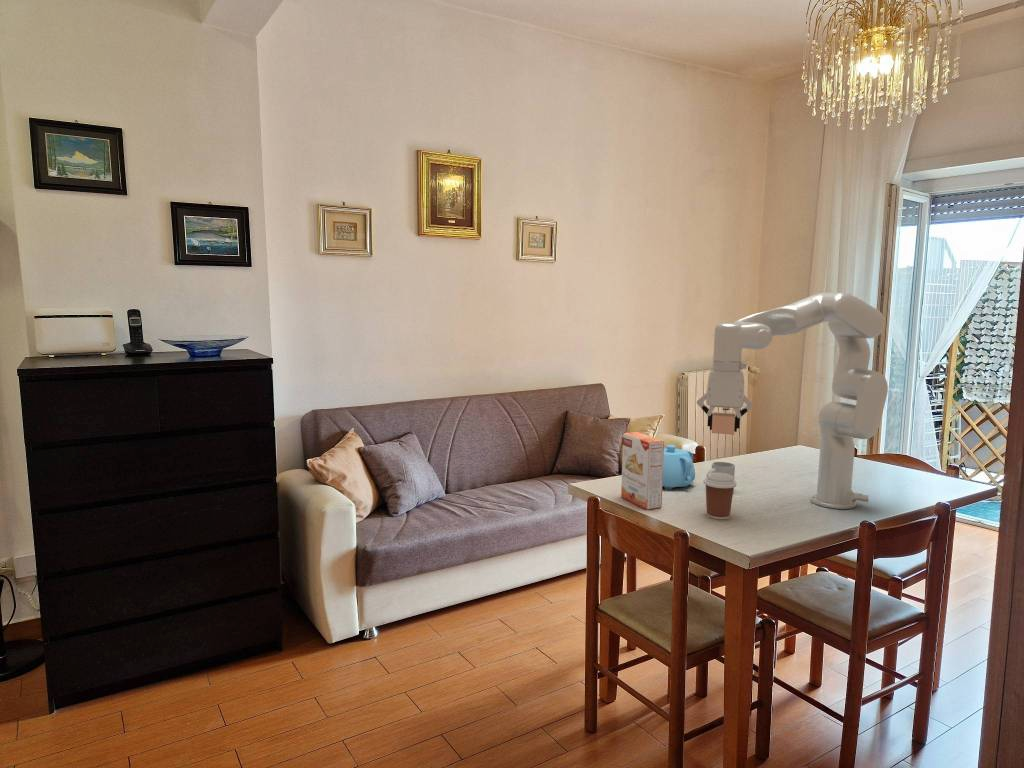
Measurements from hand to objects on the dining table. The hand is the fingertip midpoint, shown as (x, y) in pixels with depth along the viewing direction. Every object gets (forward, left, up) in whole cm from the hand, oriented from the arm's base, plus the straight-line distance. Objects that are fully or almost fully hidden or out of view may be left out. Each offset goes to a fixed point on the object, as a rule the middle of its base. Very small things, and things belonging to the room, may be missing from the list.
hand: (723, 429), depth 189 cm
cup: (+1, -26, -26) cm, 37 cm away
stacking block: (0, 0, -1) cm, 1 cm away
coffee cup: (0, 0, -26) cm, 26 cm away
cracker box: (+23, -4, -26) cm, 35 cm away
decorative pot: (+17, -28, -26) cm, 42 cm away
